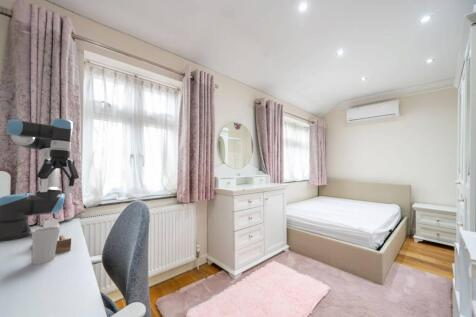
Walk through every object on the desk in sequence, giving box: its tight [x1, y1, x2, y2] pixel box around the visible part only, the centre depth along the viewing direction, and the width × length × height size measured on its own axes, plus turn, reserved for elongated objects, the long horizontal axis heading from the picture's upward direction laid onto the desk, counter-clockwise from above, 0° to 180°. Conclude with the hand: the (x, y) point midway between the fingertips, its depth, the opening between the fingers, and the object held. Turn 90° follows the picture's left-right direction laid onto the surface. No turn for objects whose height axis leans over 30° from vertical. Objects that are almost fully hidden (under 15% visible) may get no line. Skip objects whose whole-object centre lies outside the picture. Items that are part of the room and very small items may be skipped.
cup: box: [31, 226, 61, 265], centre depth 77 cm, size 8×8×12 cm
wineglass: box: [42, 217, 60, 228], centre depth 96 cm, size 6×6×12 cm
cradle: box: [55, 234, 72, 255], centre depth 91 cm, size 22×10×5 cm, turn 50°
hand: (56, 192), depth 96 cm, fingers open, 13 cm apart
